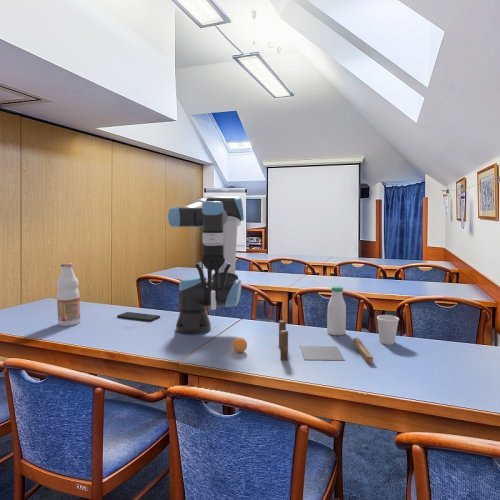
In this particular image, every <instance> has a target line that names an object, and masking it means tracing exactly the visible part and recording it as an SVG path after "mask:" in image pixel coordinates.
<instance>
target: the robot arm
mask: <svg viewBox="0 0 500 500" xmlns="http://www.w3.org/2000/svg"><path fill="white" fill-rule="evenodd" d="M244 217H245V216H244V207H243V200H242V198H241V197H240V196H233V195H232V196H206V197H201V198H199V199H195V200H193V201H192V202H191V203H190V204H188V205H185V206H181V207H180V206H175V207H170V208H169V209H168V213H167V221H168V225H169V226H171V227H174V228H175V227H176V228H183V227H184V228H187V227H188V228H189V227H190V228H191V227H193V228H194V227H195V228H197V227H198V228H202V244H203V245H202V258H201V260H200V262H198V263H196V264H195V265H194V266H195V268H196V269H197V271H198V275H195V276H188V277H185V278H182V279H181V280H180V281H179V290H178V292H179V314H178V318H177V320H176V323H175V325H176V326H175V331H176V332H178V333H180V334H184V335H196V334H197V335H198V334H203V333H206V332H208V331H209V332H210V330H211V324H212V323H211V321H210V317H209V315H208V312H207V307H210V310H213V311H215V310H216V309H217V307H226V308H227V307H236V306H238V304H239V301H240V298H241V292H242V280H241V279H239V276H238V274H237V273H236V262H237V261H236V258H237V242H238V241H237V237H238V227H239V226H241V223H242V222H244V221H245V218H244ZM203 267H204V268H205V269H207V270H206V271H207V276H206V275H205V274H204V270H203ZM213 271H214V272H213ZM212 272H213V273H212Z"/></svg>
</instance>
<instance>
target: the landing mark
mask: <svg viewBox="0 0 500 500" xmlns="http://www.w3.org/2000/svg"><path fill="white" fill-rule="evenodd" d="M299 347H300V349H301V354H302V357H303V361H341V362H342V361H344V362H345V361H346V360H345V358H344V356H343V355H342V352H341V351H340V349H339V347H338V346H336V345H334V346H333V345H300V346H299Z"/></svg>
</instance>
